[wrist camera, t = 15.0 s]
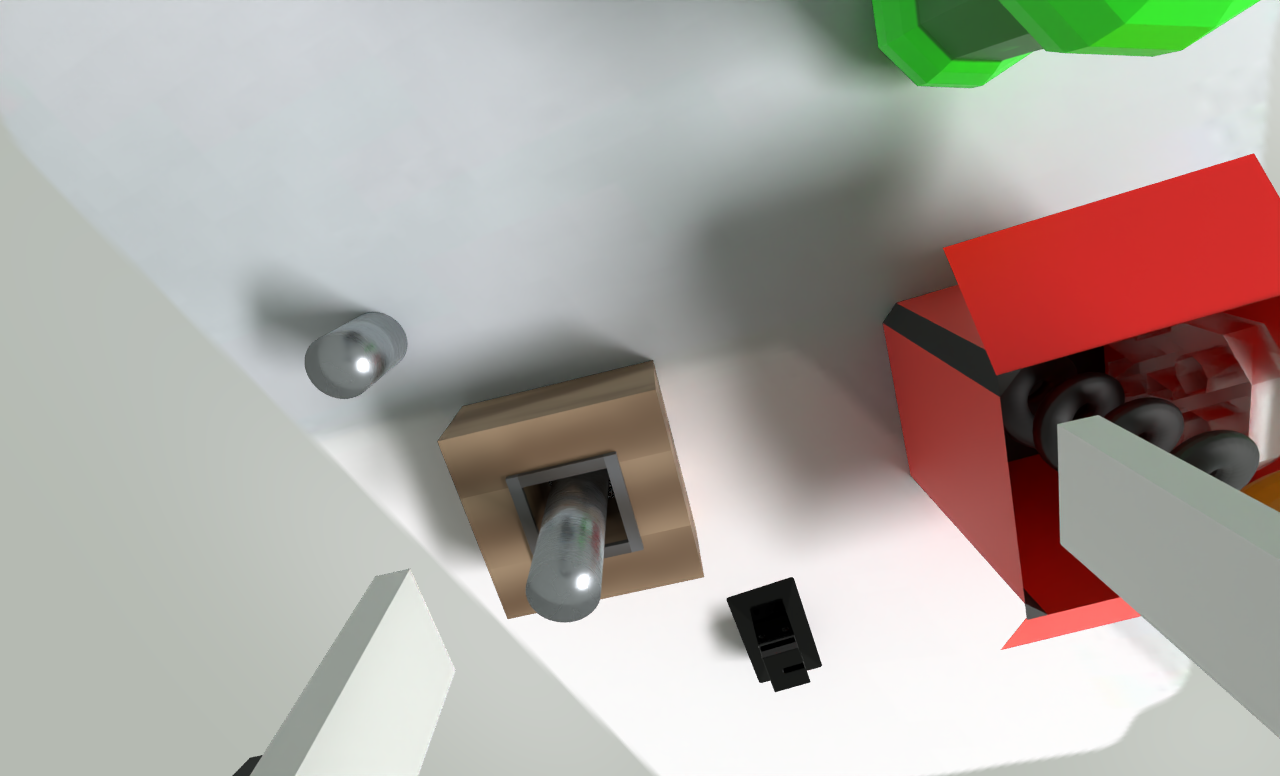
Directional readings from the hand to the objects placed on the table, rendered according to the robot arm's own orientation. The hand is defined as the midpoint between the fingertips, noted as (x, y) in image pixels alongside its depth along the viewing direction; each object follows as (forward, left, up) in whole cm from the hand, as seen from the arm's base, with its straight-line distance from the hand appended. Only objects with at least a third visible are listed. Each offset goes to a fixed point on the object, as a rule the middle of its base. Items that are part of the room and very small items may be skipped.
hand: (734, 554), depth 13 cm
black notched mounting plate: (+30, +2, -31) cm, 44 cm away
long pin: (+12, -9, -31) cm, 34 cm away
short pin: (-1, -20, -31) cm, 37 cm away
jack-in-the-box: (+12, +22, -31) cm, 40 cm away
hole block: (+12, -9, -31) cm, 34 cm away
